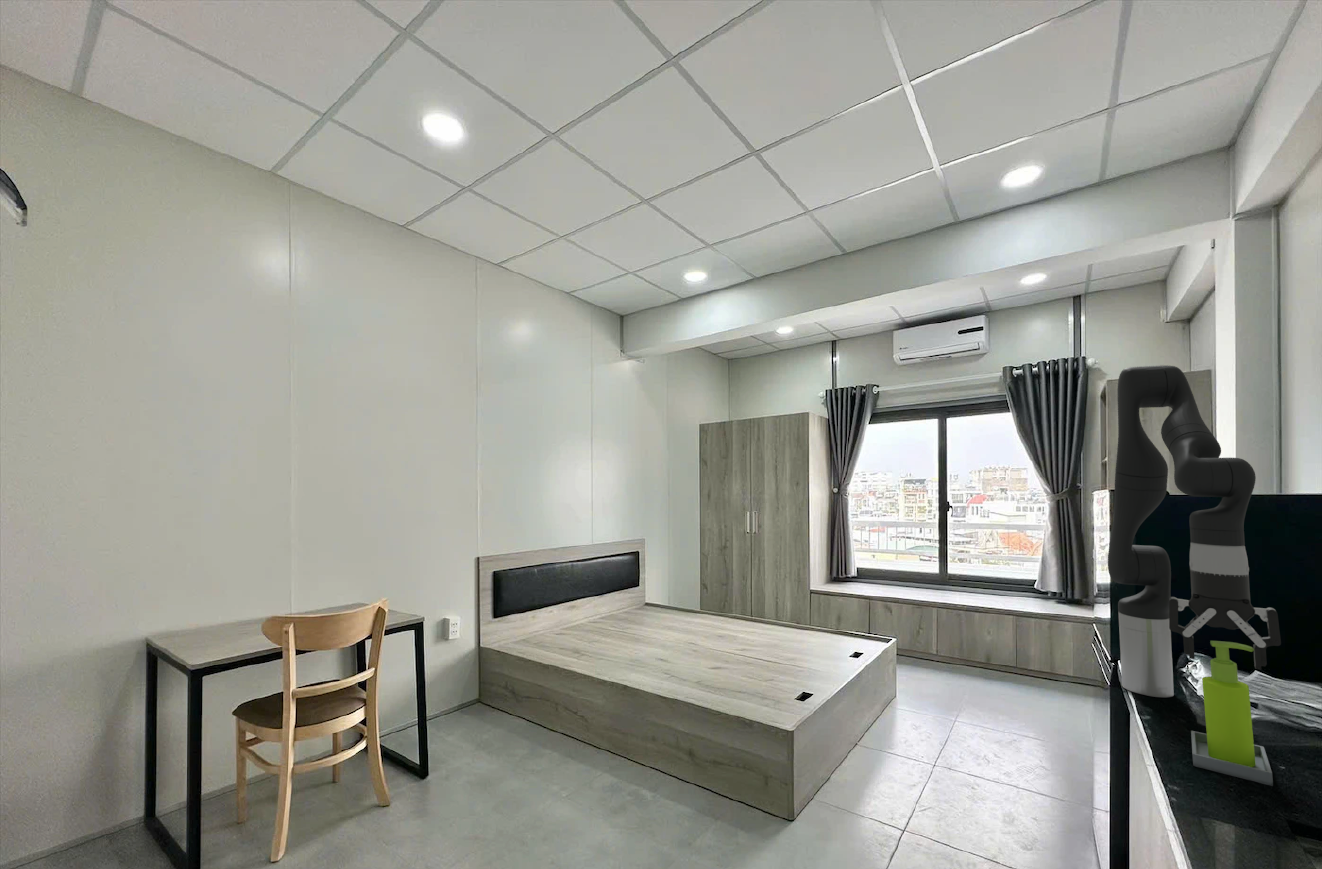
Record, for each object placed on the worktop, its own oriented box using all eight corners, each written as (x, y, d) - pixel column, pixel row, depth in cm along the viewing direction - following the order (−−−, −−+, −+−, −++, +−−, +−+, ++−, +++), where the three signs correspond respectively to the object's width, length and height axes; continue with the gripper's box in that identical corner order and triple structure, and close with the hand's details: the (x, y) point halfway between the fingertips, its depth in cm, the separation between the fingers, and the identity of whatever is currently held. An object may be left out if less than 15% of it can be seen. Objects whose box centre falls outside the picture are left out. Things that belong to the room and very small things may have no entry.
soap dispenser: (1268, 773, 96) (1257, 650, 97) (1211, 761, 100) (1201, 643, 101) (1259, 758, 101) (1249, 641, 102) (1205, 748, 105) (1196, 635, 106)
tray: (1191, 741, 108) (1191, 730, 108) (1264, 758, 102) (1263, 746, 102) (1193, 766, 99) (1192, 754, 100) (1273, 786, 93) (1272, 773, 93)
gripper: (1274, 571, 101) (1280, 666, 100) (1165, 562, 110) (1170, 649, 109) (1279, 577, 95) (1286, 678, 94) (1165, 567, 105) (1169, 659, 104)
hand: (1223, 662), depth 102 cm, fingers open, 8 cm apart
